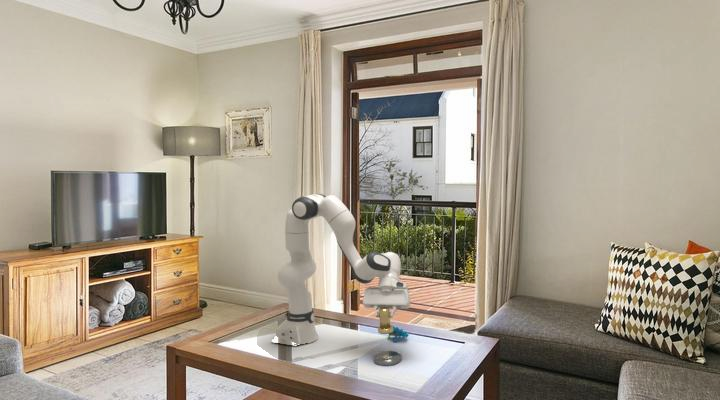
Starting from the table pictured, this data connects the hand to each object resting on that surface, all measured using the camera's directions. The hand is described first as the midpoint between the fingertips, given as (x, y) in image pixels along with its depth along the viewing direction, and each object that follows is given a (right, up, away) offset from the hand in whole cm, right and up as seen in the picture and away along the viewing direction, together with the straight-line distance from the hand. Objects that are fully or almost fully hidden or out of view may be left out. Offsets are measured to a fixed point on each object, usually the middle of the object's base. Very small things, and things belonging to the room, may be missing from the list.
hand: (384, 316), depth 186 cm
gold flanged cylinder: (+1, -6, +1) cm, 6 cm away
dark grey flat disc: (+2, -18, +2) cm, 19 cm away
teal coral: (+8, -17, +23) cm, 29 cm away
